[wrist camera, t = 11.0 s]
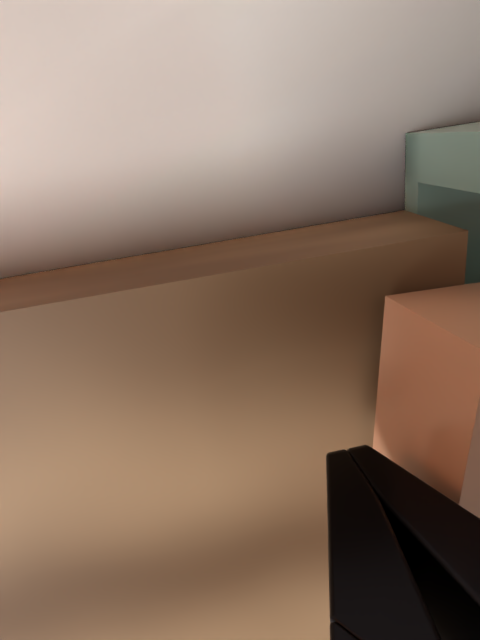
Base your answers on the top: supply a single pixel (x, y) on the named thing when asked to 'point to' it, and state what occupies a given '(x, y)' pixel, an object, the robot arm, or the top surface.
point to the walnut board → (193, 427)
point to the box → (447, 182)
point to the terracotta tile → (432, 389)
